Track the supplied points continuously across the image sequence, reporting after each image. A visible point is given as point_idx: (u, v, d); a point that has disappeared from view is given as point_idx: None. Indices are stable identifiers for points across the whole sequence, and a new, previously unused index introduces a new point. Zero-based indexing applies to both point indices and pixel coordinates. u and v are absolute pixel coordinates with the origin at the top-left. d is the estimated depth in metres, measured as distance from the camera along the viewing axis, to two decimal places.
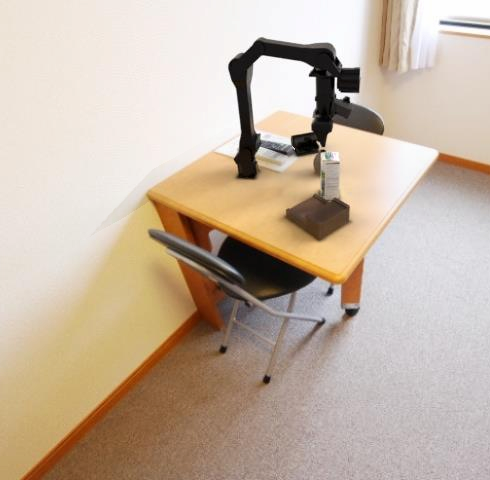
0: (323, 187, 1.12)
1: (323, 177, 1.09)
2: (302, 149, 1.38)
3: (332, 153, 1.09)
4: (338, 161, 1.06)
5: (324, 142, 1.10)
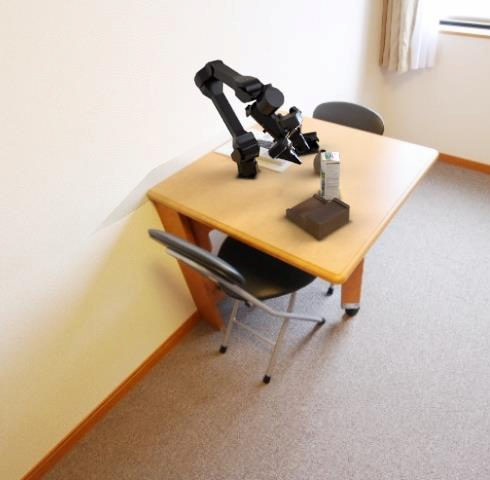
0: (323, 187, 1.12)
1: (323, 177, 1.09)
2: (302, 149, 1.38)
3: (332, 153, 1.09)
4: (338, 161, 1.06)
5: (296, 159, 1.05)
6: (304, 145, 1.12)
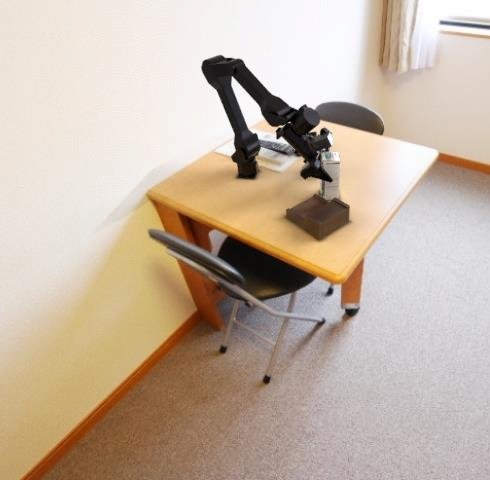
0: (323, 187, 1.12)
1: None
2: None
3: (332, 153, 1.09)
4: (338, 161, 1.06)
5: (328, 177, 1.08)
6: None
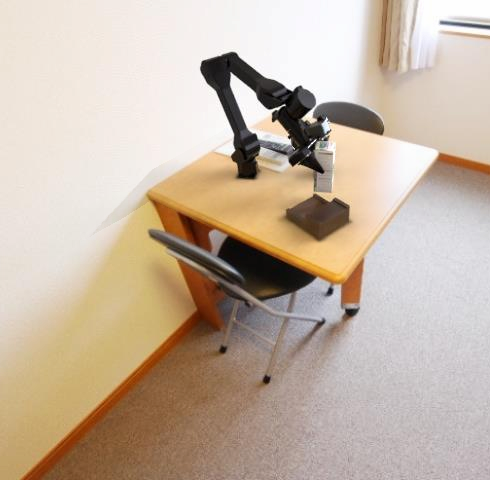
0: (315, 178, 1.05)
1: None
2: None
3: (328, 143, 1.02)
4: (331, 152, 0.99)
5: (319, 168, 1.02)
6: None
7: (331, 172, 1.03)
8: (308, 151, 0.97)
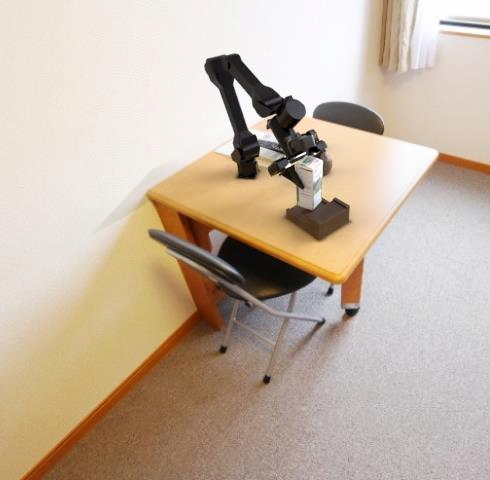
0: (297, 192, 1.02)
1: None
2: None
3: (314, 159, 0.98)
4: (311, 169, 0.95)
5: (298, 183, 0.98)
6: None
7: (312, 189, 0.99)
8: (285, 164, 0.94)
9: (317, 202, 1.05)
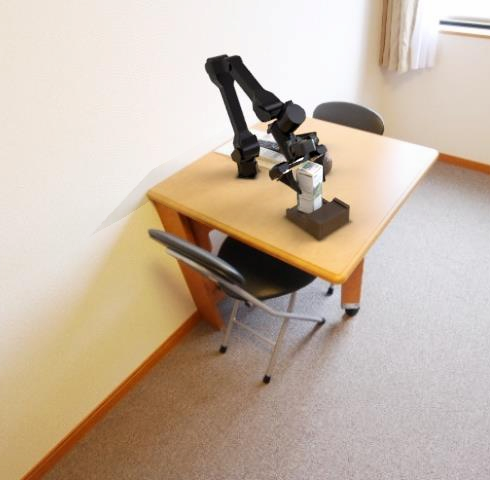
0: (298, 197, 1.04)
1: None
2: None
3: (314, 165, 0.99)
4: (310, 174, 0.96)
5: (296, 188, 0.98)
6: None
7: (311, 194, 1.00)
8: (286, 168, 0.95)
9: (317, 207, 1.06)
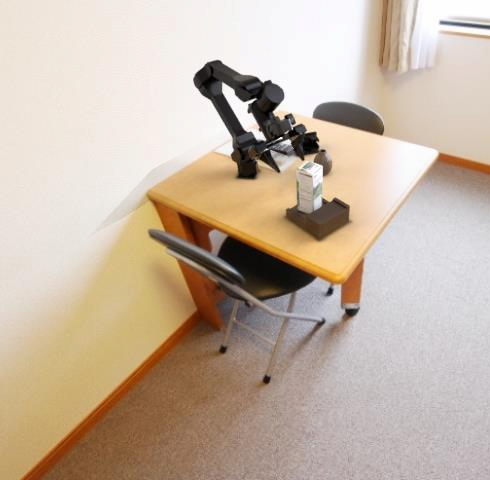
0: (298, 197, 1.04)
1: (297, 186, 1.01)
2: None
3: (314, 165, 0.99)
4: (310, 174, 0.96)
5: (274, 167, 1.03)
6: (300, 155, 1.07)
7: (311, 194, 1.00)
8: (264, 147, 0.99)
9: (317, 207, 1.06)
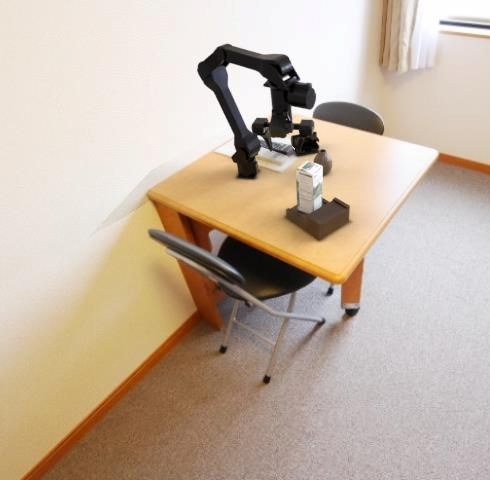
0: (298, 197, 1.04)
1: (297, 186, 1.01)
2: (302, 149, 1.38)
3: (314, 165, 0.99)
4: (311, 174, 0.96)
5: None
6: (298, 147, 1.12)
7: (311, 194, 1.00)
8: (260, 132, 1.07)
9: (317, 207, 1.06)
